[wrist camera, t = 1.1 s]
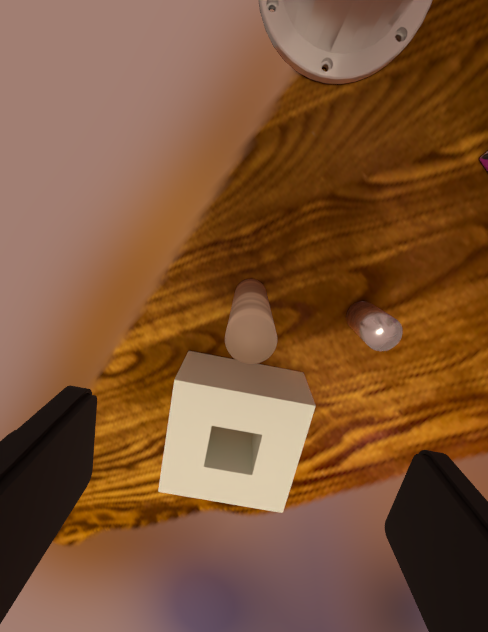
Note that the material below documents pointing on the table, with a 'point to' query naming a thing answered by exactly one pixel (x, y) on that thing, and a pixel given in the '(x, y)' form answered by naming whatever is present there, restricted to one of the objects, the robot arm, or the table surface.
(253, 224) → the table surface
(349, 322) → the steel stub
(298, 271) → the table surface
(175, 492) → the hole block
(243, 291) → the birch pin
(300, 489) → the table surface
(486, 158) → the candy bar box
